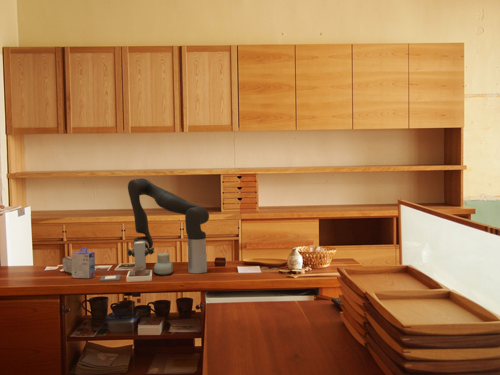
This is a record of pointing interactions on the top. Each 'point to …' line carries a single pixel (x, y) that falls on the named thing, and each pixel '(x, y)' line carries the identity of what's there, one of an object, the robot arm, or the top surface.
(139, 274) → the walnut block
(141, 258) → the label box
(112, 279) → the pad
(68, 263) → the tin
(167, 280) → the top surface
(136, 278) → the bin rim
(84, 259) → the ink cartridge box
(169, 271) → the air freshener
